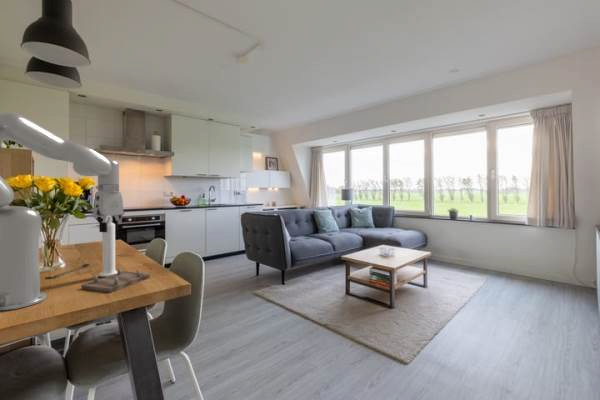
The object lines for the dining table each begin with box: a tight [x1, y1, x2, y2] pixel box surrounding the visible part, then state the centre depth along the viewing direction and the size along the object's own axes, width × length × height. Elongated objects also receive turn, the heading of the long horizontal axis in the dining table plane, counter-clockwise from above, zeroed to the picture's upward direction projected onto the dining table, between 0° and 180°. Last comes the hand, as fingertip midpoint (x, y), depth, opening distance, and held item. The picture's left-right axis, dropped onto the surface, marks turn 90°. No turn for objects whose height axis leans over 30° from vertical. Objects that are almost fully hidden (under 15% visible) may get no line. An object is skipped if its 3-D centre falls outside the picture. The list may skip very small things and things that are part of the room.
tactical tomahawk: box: [45, 263, 90, 280], centre depth 125 cm, size 21×7×1 cm, turn 176°
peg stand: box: [80, 267, 151, 294], centre depth 110 cm, size 18×14×4 cm
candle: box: [98, 216, 117, 278], centre depth 119 cm, size 7×7×25 cm
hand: (108, 230), depth 119 cm, fingers closed on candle, 4 cm apart
